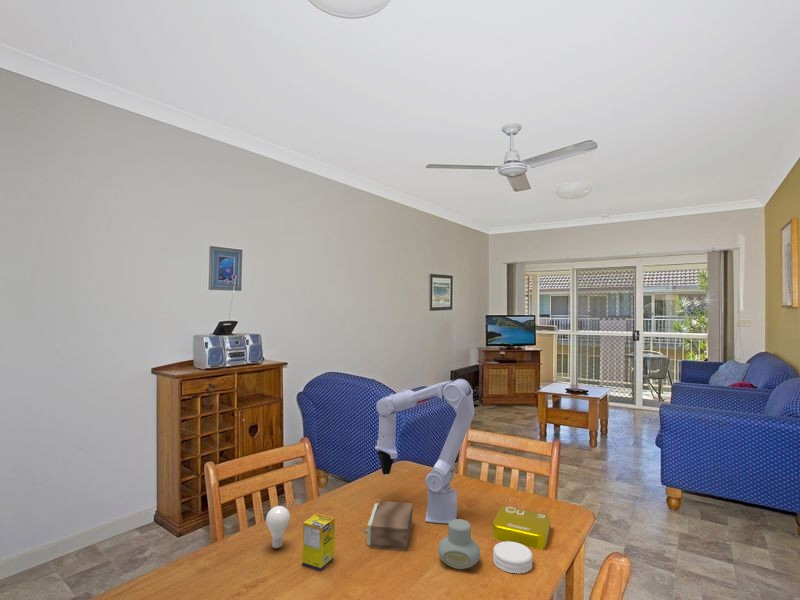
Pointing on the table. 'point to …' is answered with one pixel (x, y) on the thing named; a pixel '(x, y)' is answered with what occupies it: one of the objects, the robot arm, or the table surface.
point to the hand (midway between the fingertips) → (386, 473)
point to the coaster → (512, 557)
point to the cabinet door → (371, 524)
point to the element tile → (521, 527)
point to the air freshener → (459, 546)
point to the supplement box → (318, 541)
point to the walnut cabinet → (391, 526)
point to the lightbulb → (277, 524)
